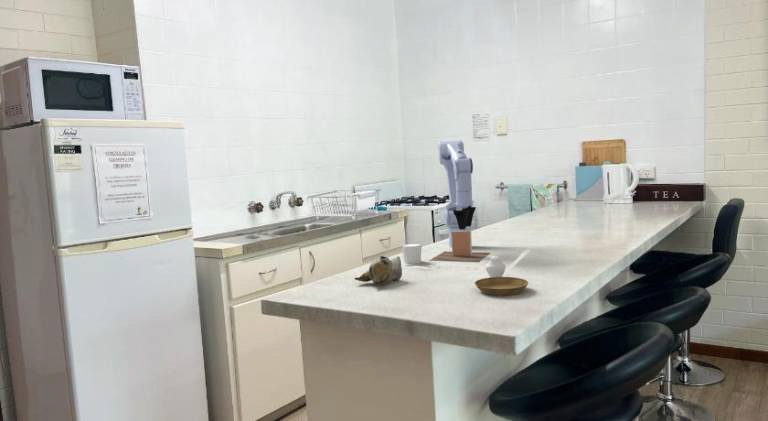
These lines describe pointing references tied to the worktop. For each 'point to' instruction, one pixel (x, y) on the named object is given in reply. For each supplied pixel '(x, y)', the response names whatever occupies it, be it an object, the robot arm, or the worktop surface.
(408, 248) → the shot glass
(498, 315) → the worktop surface
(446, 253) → the walnut board
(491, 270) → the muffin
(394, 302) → the worktop surface
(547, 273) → the worktop surface
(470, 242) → the glazed tile
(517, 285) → the plant saucer
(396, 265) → the ceramic sculpture
